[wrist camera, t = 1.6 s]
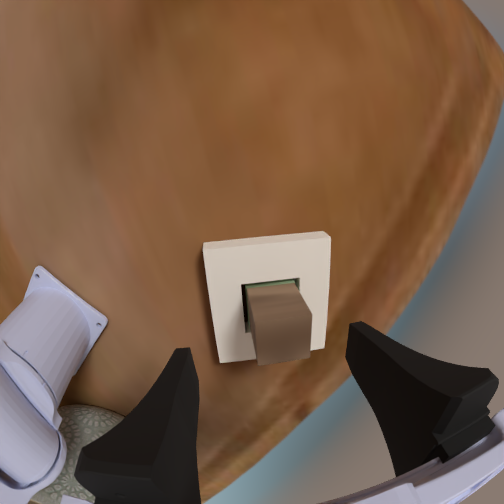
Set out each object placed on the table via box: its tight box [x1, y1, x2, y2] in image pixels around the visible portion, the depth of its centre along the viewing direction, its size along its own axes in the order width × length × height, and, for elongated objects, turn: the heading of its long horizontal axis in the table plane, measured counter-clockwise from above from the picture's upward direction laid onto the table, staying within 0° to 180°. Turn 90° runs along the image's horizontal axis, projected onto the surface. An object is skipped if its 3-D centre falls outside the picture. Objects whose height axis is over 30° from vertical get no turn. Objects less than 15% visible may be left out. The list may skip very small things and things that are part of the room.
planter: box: [27, 404, 125, 504], centre depth 20 cm, size 17×17×15 cm
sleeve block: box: [203, 231, 331, 363], centre depth 22 cm, size 10×9×2 cm
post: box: [245, 278, 312, 366], centre depth 20 cm, size 4×4×6 cm
